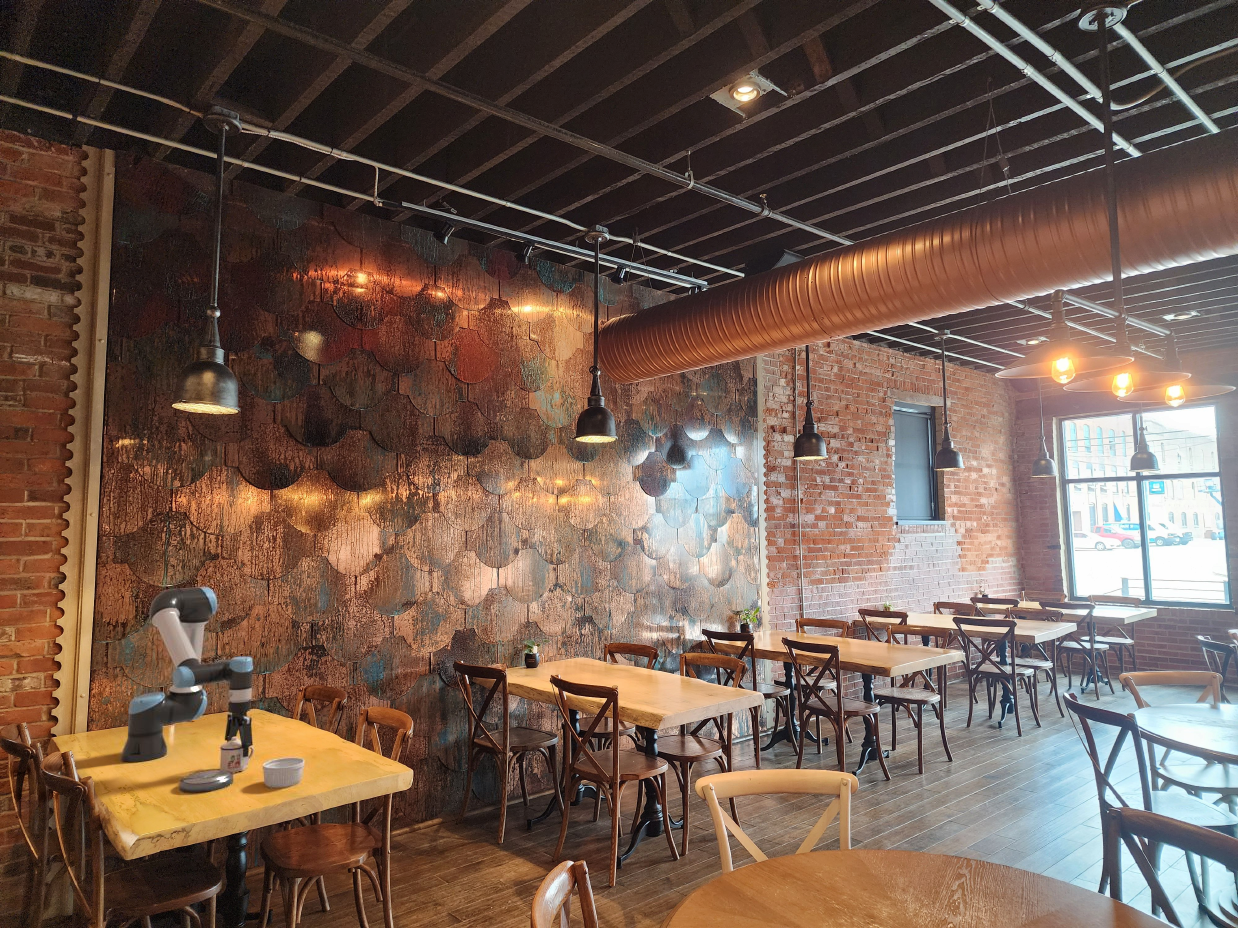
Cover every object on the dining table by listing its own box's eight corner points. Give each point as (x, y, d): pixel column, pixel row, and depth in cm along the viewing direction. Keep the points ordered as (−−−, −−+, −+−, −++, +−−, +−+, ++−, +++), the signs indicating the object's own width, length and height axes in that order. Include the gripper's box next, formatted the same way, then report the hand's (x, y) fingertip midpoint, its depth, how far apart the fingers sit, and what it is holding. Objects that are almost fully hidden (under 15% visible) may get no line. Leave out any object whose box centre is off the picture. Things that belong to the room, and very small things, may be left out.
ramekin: (292, 774, 268) (293, 754, 268) (311, 782, 259) (312, 761, 260) (254, 784, 257) (255, 763, 258) (273, 792, 249) (274, 770, 250)
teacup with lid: (227, 775, 267) (228, 741, 268) (214, 771, 272) (215, 738, 273) (259, 766, 277) (261, 734, 278) (246, 762, 282) (247, 730, 283)
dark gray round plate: (171, 786, 255) (171, 777, 256) (220, 774, 268) (220, 766, 268) (192, 796, 245) (192, 786, 246) (241, 783, 258) (241, 774, 258)
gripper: (215, 698, 281) (213, 760, 278) (243, 705, 267) (241, 771, 265) (236, 694, 286) (234, 755, 284) (264, 701, 273) (262, 765, 271)
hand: (237, 763), depth 275 cm, fingers closed on teacup with lid, 9 cm apart
